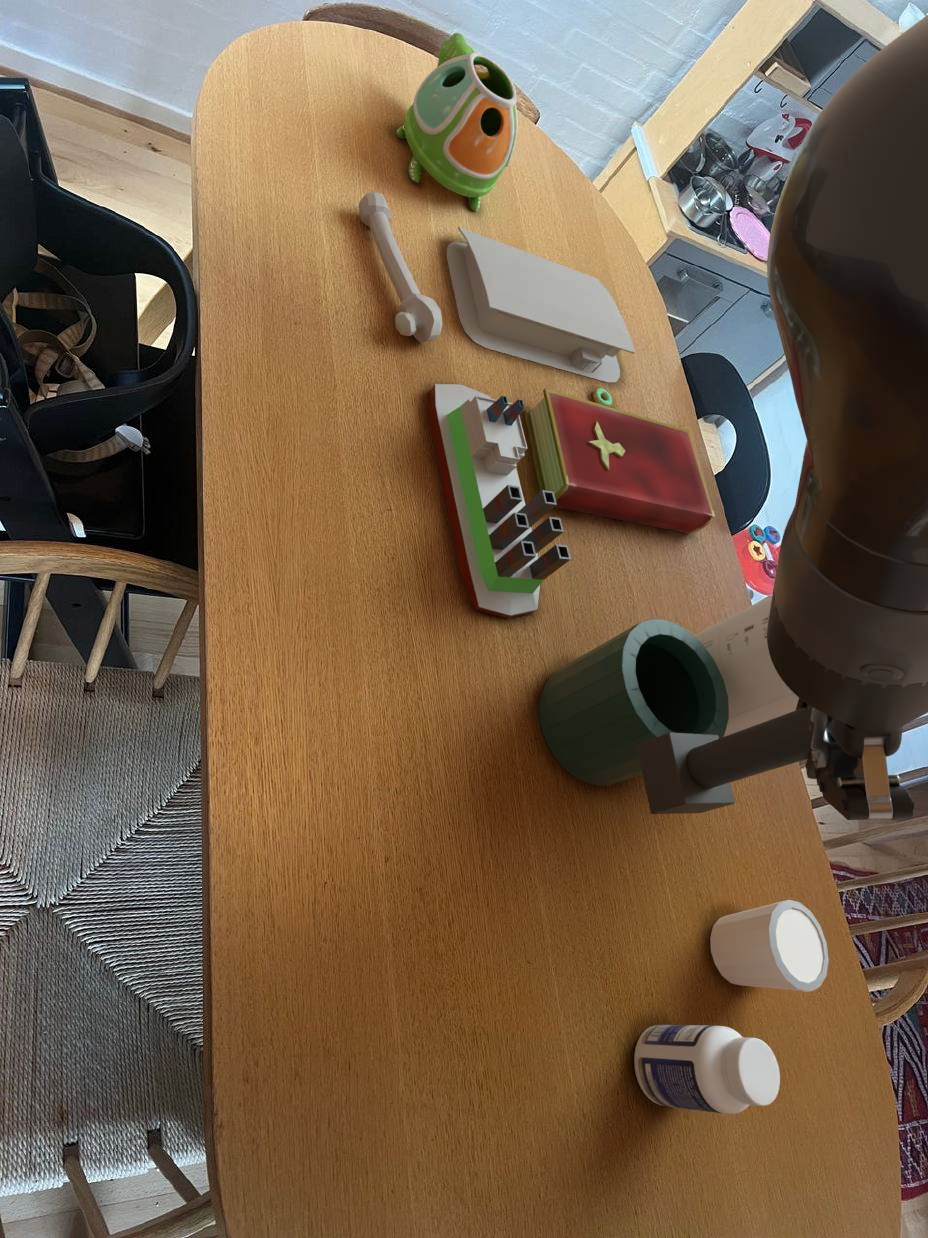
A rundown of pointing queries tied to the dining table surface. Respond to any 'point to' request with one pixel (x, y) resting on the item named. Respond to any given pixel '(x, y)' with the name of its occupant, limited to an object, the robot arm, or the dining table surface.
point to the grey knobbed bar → (400, 274)
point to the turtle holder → (462, 122)
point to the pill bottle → (705, 1068)
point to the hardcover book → (617, 464)
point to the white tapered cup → (771, 947)
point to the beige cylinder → (748, 668)
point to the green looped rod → (605, 395)
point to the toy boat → (492, 501)
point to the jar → (631, 700)
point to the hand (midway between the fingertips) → (821, 743)
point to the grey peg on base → (717, 762)
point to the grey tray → (536, 308)
